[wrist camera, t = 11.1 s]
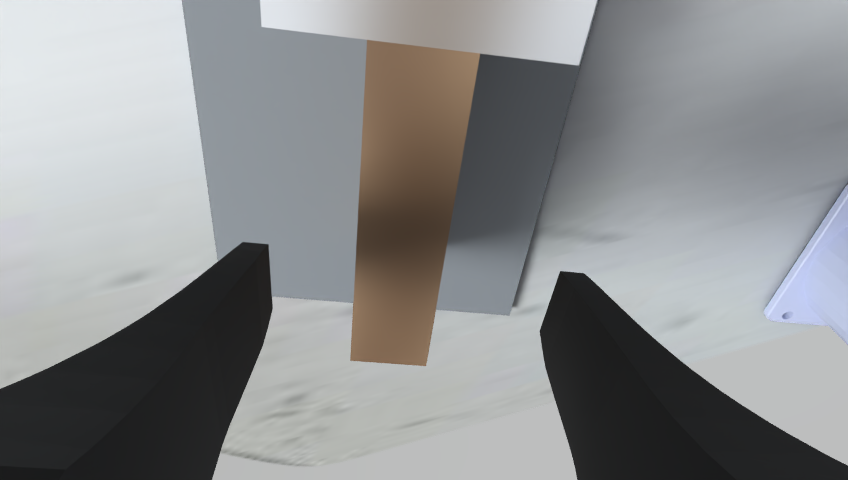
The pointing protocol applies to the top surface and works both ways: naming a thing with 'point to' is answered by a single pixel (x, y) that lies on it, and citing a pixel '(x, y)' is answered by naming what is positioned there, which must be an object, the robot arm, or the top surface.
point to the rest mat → (359, 155)
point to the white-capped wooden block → (420, 137)
